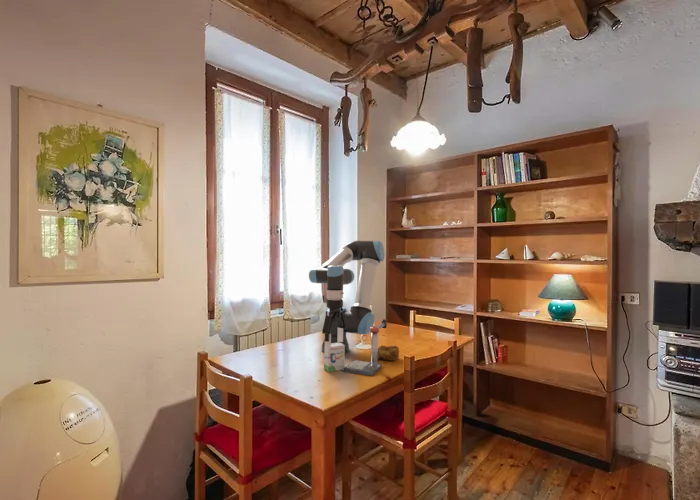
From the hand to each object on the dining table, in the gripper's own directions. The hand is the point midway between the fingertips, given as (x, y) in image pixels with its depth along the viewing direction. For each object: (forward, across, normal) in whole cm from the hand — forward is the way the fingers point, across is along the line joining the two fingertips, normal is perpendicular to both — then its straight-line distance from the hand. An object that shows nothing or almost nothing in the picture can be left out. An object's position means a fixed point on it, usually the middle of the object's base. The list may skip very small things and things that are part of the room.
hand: (334, 344), depth 172 cm
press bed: (+11, +7, -12) cm, 18 cm away
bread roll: (+11, +26, -18) cm, 34 cm away
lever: (-6, +13, -18) cm, 23 cm away
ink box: (+12, +1, 0) cm, 12 cm away
